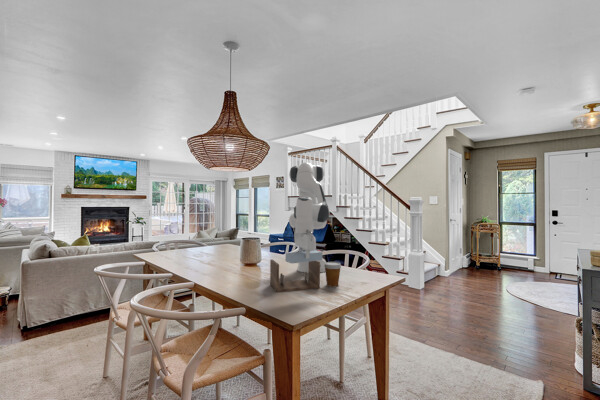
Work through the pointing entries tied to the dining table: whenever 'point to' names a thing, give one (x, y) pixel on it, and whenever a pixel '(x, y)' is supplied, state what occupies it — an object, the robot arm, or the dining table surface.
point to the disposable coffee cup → (332, 273)
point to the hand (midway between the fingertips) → (304, 256)
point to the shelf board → (303, 256)
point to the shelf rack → (309, 280)
